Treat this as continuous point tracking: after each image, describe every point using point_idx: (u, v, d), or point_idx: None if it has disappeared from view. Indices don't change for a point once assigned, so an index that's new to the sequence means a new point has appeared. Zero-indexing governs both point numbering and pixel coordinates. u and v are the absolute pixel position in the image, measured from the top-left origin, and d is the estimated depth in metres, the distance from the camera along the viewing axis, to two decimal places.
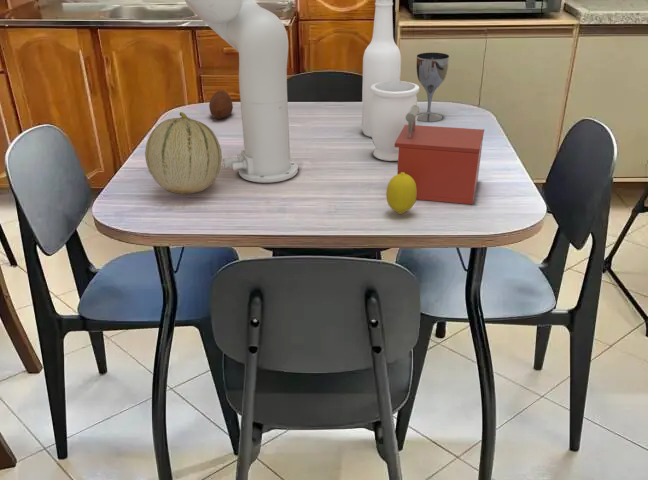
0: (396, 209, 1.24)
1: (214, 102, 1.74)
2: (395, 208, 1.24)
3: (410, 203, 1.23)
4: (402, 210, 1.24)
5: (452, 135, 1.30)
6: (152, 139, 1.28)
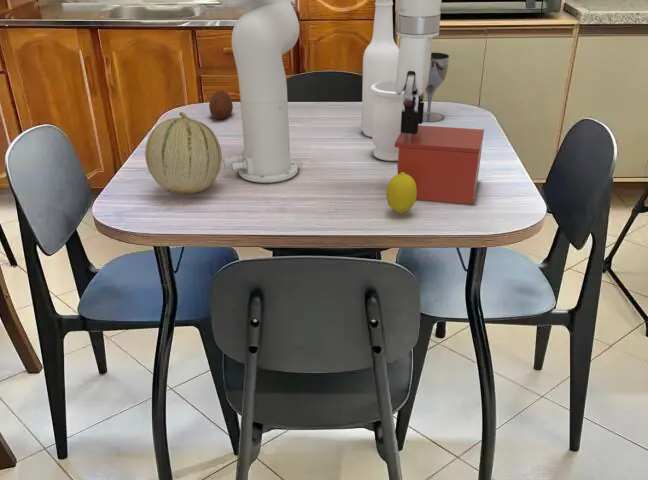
0: (396, 209, 1.24)
1: (214, 102, 1.74)
2: (395, 208, 1.24)
3: (410, 203, 1.23)
4: (402, 210, 1.24)
5: (452, 135, 1.30)
6: (152, 139, 1.28)
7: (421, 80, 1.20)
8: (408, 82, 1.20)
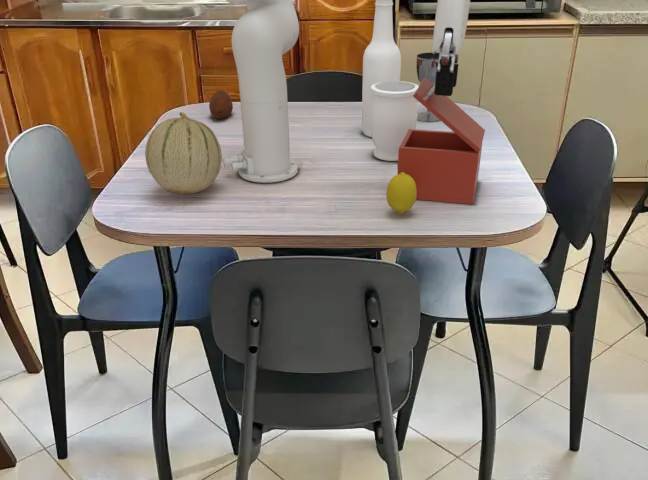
0: (396, 209, 1.24)
1: (214, 102, 1.74)
2: (395, 208, 1.24)
3: (410, 203, 1.23)
4: (402, 210, 1.24)
5: (461, 118, 1.28)
6: (152, 139, 1.28)
7: (459, 37, 1.15)
8: (445, 39, 1.15)
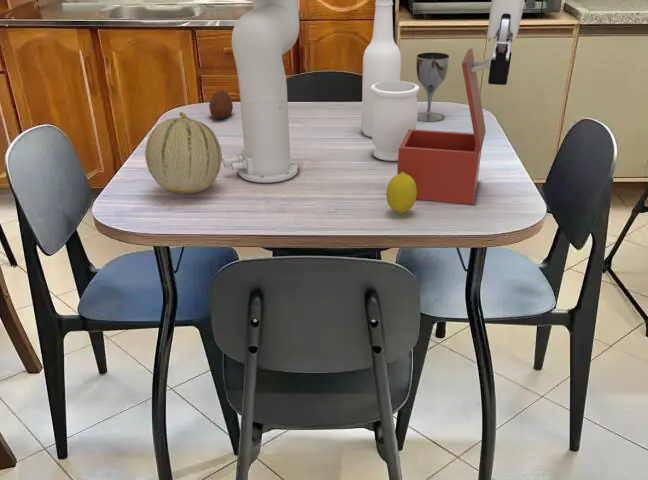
0: (396, 209, 1.24)
1: (214, 102, 1.74)
2: (395, 208, 1.24)
3: (410, 203, 1.23)
4: (402, 210, 1.24)
5: (479, 109, 1.26)
6: (152, 139, 1.28)
7: (516, 24, 1.11)
8: (502, 26, 1.11)
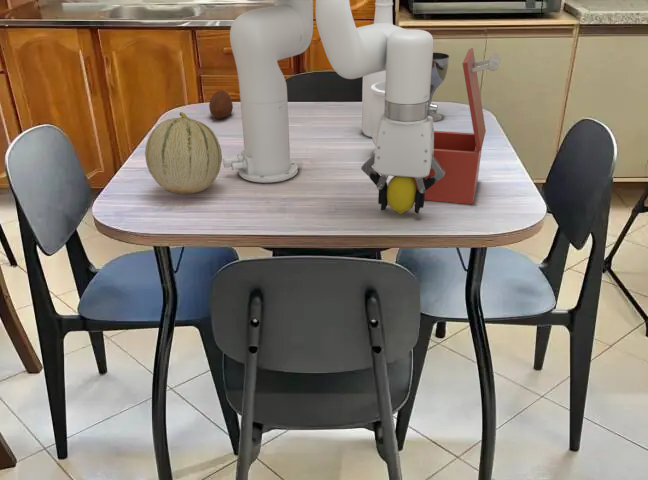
0: (396, 209, 1.24)
1: (214, 102, 1.74)
2: (395, 208, 1.24)
3: (410, 203, 1.23)
4: (402, 210, 1.24)
5: (479, 109, 1.26)
6: (152, 139, 1.28)
7: (375, 158, 1.20)
8: (372, 155, 1.22)
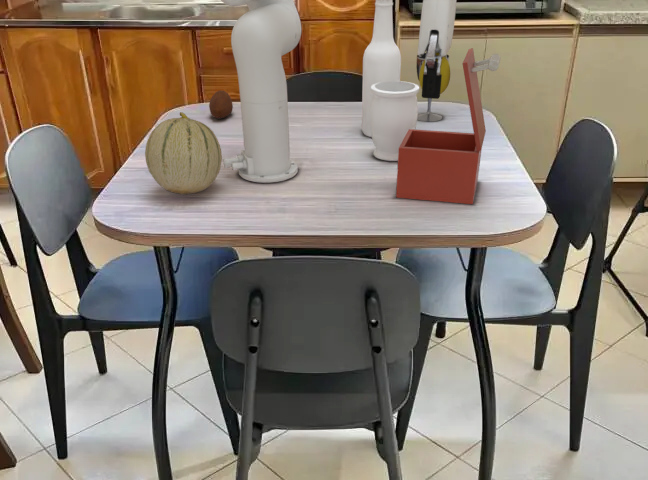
0: (444, 90, 1.22)
1: (214, 102, 1.74)
2: (445, 89, 1.22)
3: None
4: None
5: (479, 109, 1.26)
6: (152, 139, 1.28)
7: (445, 40, 1.14)
8: (431, 42, 1.14)
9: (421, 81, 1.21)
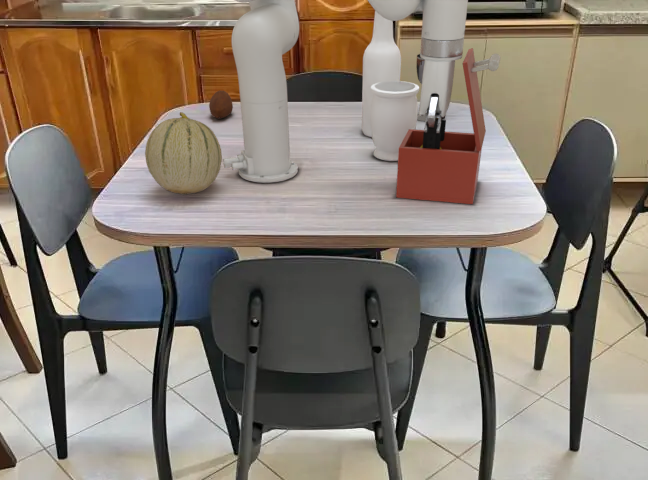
0: None
1: (214, 102, 1.74)
2: None
3: None
4: None
5: (479, 109, 1.26)
6: (152, 139, 1.28)
7: (444, 102, 1.21)
8: (431, 103, 1.21)
9: None
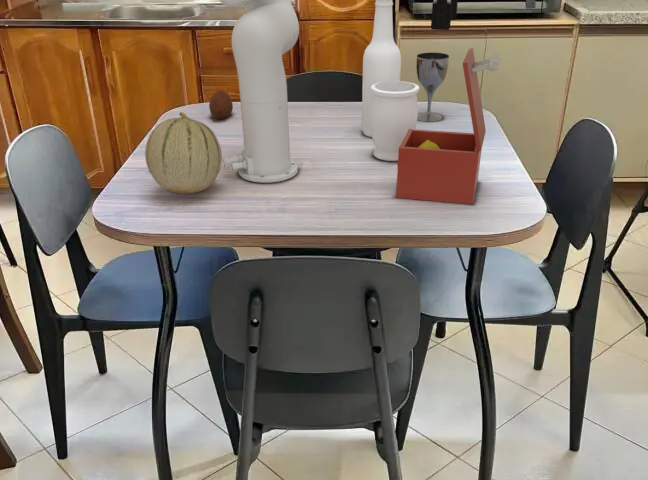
0: None
1: (214, 102, 1.74)
2: None
3: None
4: None
5: (479, 109, 1.26)
6: (152, 139, 1.28)
7: None
8: None
9: None
